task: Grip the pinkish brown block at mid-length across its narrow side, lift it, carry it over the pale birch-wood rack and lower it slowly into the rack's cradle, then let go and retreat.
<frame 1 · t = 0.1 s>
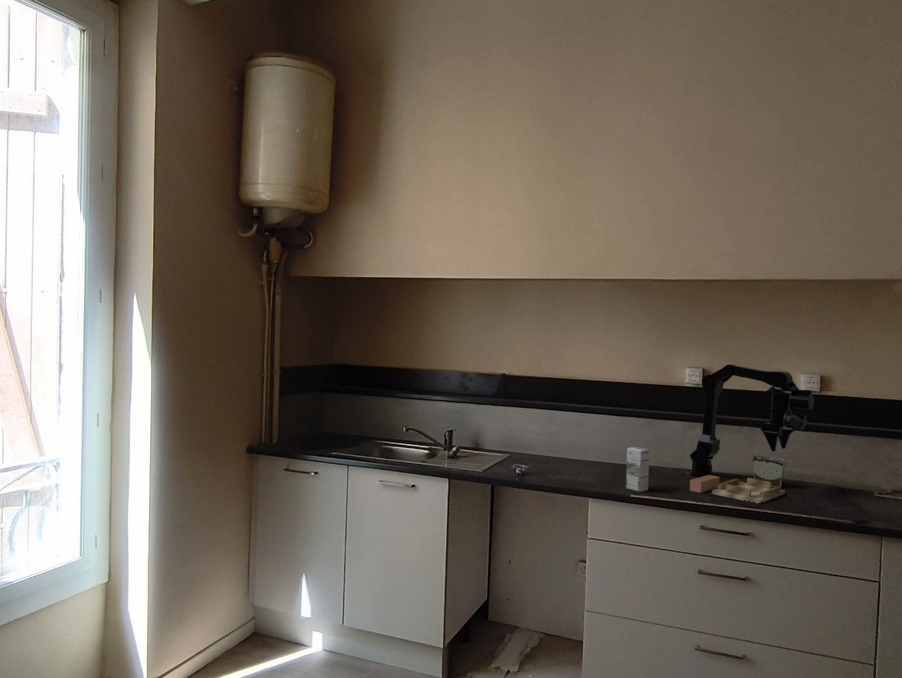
hand: (778, 449, 234), 15 cm above the worktop, fingers open, 9 cm apart
food container: (770, 485, 244), on the worktop
syrup box: (636, 490, 228), on the worktop
pinkish brown block: (704, 489, 233), on the worktop
rack: (748, 493, 228), on the worktop
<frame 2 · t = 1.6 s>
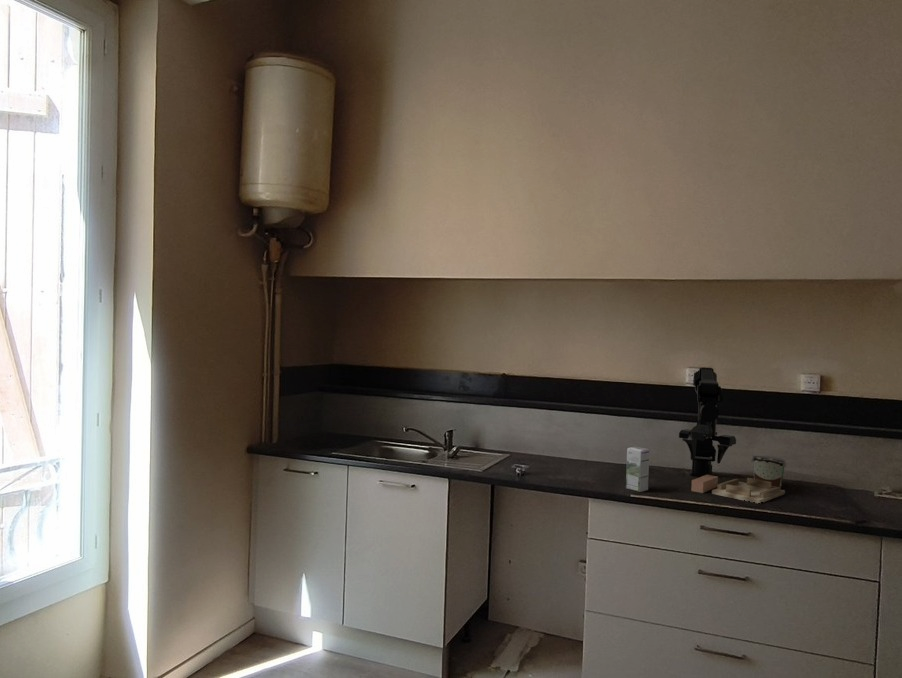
hand: (705, 461, 233), 10 cm above the worktop, fingers open, 9 cm apart
nothing on the worktop moved.
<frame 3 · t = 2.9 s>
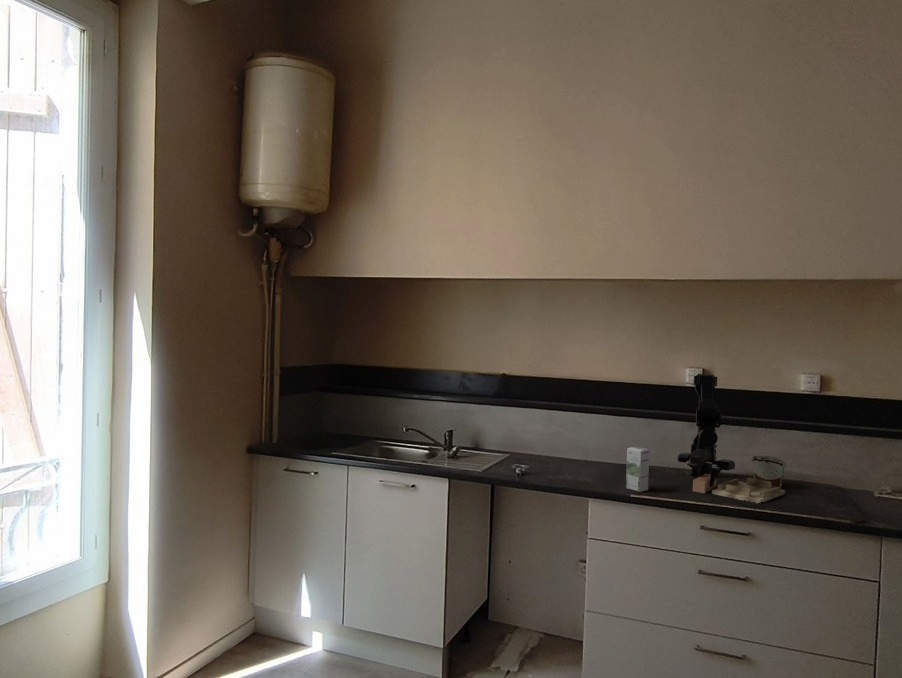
hand: (704, 485, 233), 1 cm above the worktop, fingers closed on pinkish brown block, 4 cm apart
pinkish brown block: (704, 489, 233), on the worktop, touching gripper
everything else where it was.
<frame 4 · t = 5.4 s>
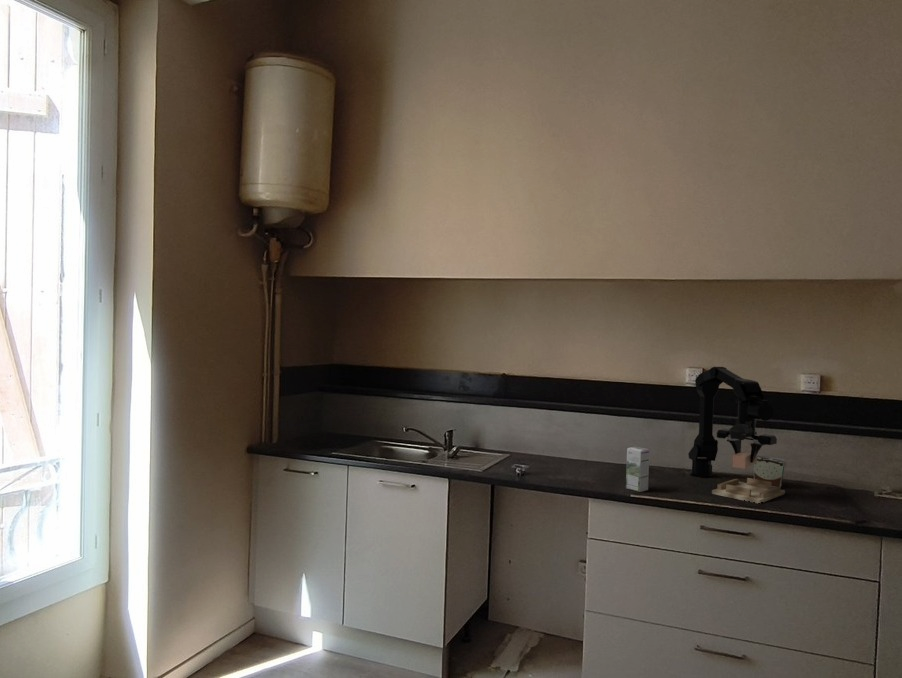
hand: (745, 461, 228), 11 cm above the worktop, fingers closed on pinkish brown block, 4 cm apart
pinkish brown block: (744, 465, 228), point 10 cm above the worktop, touching gripper
everything else where it was.
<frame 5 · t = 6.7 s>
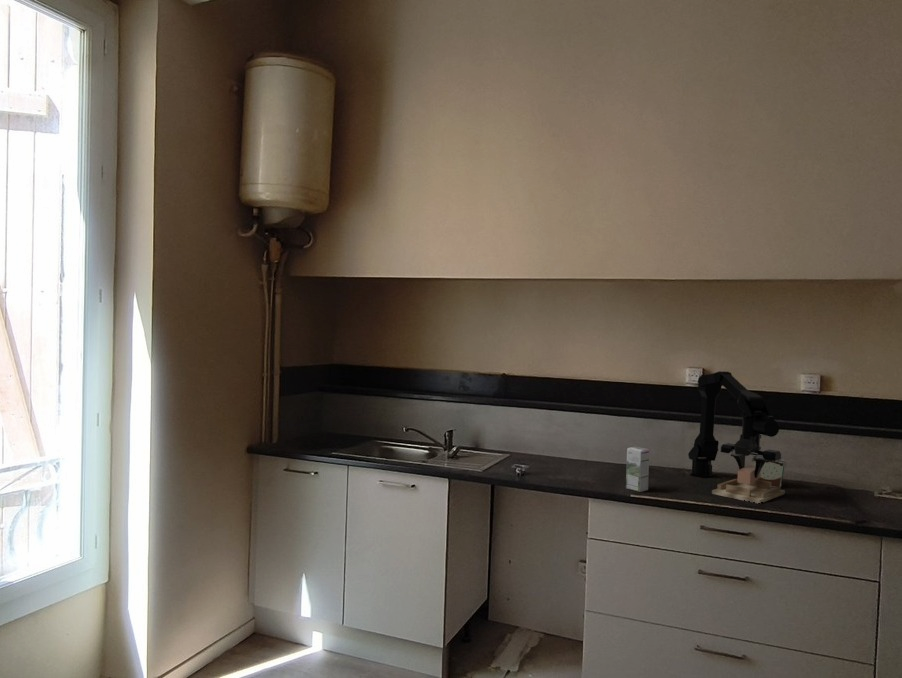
hand: (749, 476, 228), 6 cm above the worktop, fingers closed on pinkish brown block, 4 cm apart
pinkish brown block: (749, 480, 228), point 5 cm above the worktop, touching gripper
everything else where it was.
when the fingers open (3 cm above the worktop, at t = 7.7 s): pinkish brown block stays where it is, resting on rack.
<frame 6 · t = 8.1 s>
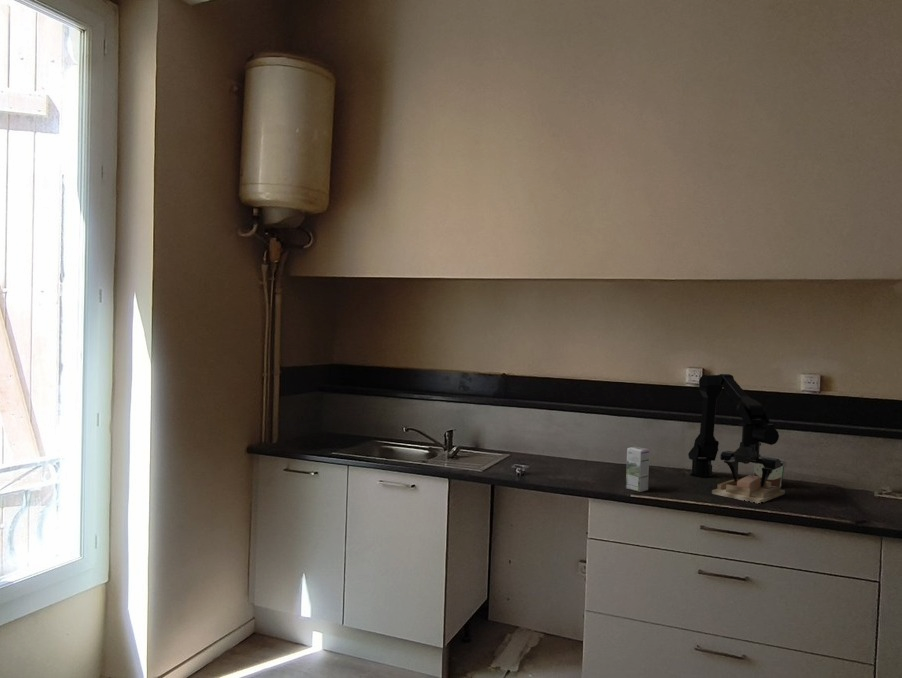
hand: (748, 484, 228), 3 cm above the worktop, fingers open, 9 cm apart
pinkish brown block: (748, 490, 228), point 1 cm above the worktop, touching rack
everything else where it was.
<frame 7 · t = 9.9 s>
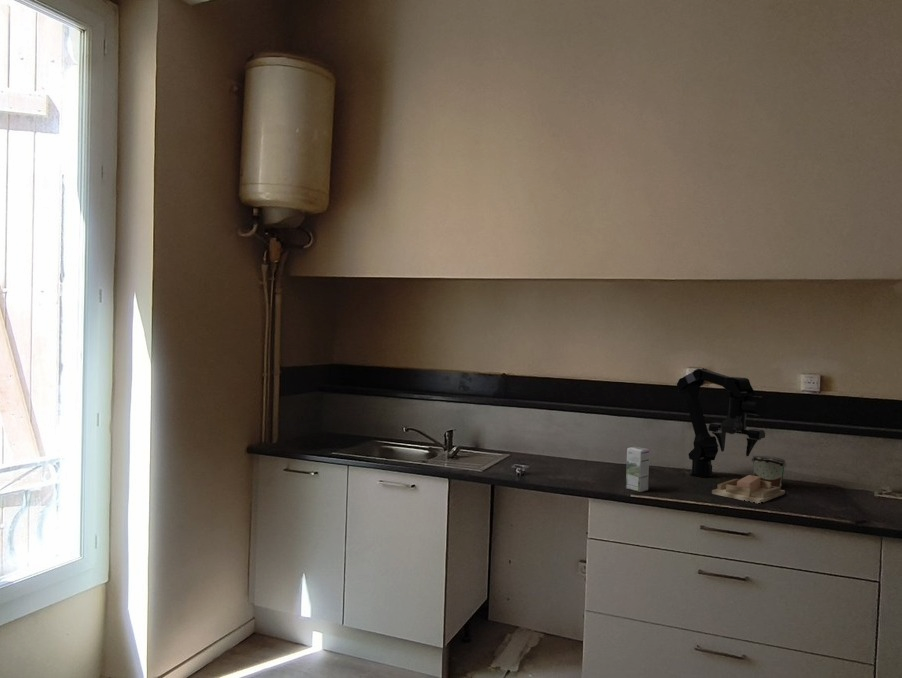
hand: (734, 453, 240), 12 cm above the worktop, fingers open, 9 cm apart
nothing on the worktop moved.
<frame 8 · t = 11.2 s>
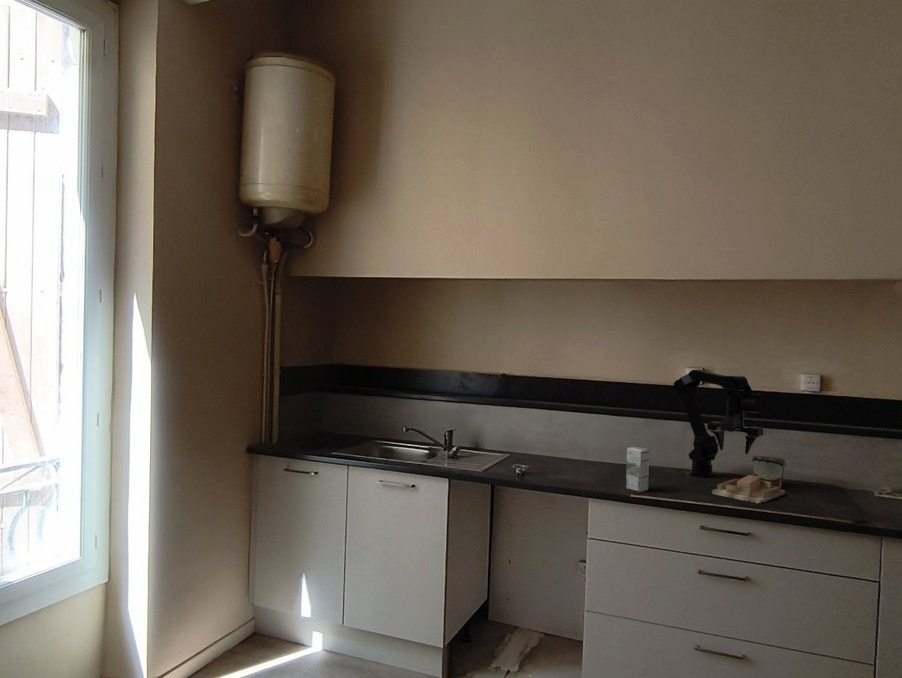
hand: (733, 451, 242), 12 cm above the worktop, fingers open, 9 cm apart
nothing on the worktop moved.
at the end: pinkish brown block 0.0 cm off-centre on the rack, point 1.2 cm above the rack's base; pinkish brown block tilted 0°; the gripper is holding nothing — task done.
